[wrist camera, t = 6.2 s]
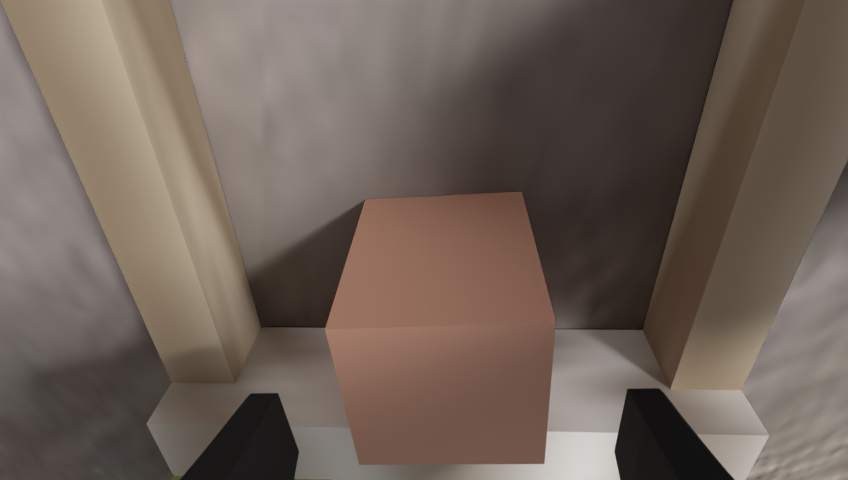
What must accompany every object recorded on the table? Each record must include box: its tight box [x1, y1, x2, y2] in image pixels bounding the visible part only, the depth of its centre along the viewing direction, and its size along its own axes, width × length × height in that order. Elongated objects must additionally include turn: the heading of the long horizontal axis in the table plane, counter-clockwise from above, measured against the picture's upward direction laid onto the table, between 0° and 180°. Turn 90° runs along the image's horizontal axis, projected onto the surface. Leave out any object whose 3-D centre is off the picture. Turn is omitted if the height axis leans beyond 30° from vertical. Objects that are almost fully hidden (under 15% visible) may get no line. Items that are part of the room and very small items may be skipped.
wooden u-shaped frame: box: [0, 0, 848, 480], centre depth 12 cm, size 17×18×4 cm
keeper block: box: [325, 192, 556, 465], centre depth 13 cm, size 4×4×6 cm
